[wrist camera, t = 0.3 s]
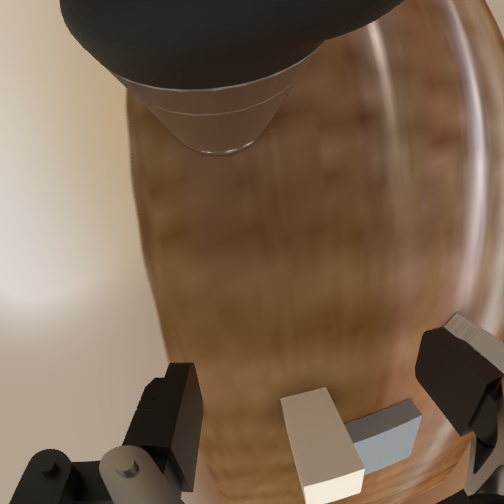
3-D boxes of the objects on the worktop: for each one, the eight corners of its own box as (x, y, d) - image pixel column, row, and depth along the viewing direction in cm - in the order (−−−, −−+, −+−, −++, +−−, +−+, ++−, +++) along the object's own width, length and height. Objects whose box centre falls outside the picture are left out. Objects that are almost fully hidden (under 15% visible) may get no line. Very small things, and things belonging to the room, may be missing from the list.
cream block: (280, 398, 30) (303, 486, 18) (325, 386, 31) (364, 468, 18) (285, 426, 32) (306, 508, 19) (327, 416, 32) (360, 492, 19)
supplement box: (433, 376, 32) (481, 426, 20) (419, 348, 31) (477, 403, 19) (467, 341, 32) (521, 382, 20) (457, 310, 30) (521, 351, 18)
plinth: (340, 424, 32) (349, 444, 28) (409, 398, 33) (422, 414, 29) (339, 464, 35) (346, 481, 31) (400, 441, 35) (409, 456, 31)
